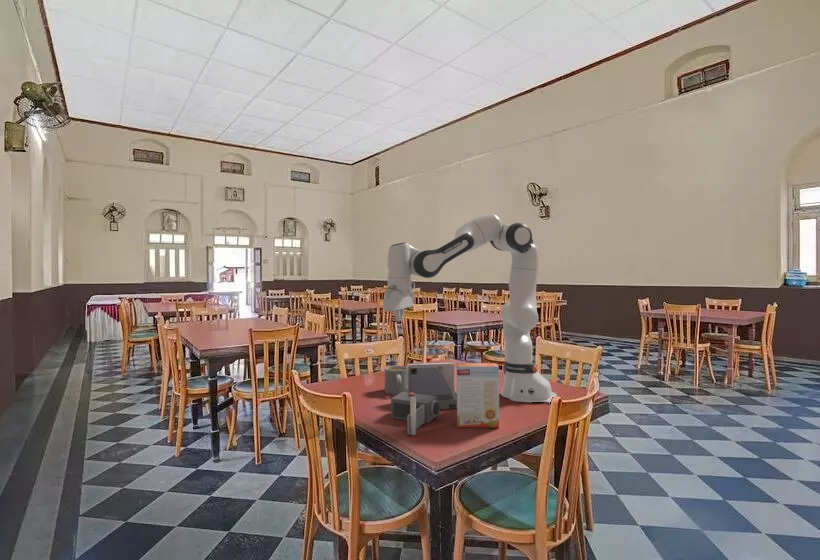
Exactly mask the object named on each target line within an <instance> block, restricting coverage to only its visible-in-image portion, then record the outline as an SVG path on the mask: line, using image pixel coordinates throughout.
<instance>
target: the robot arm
mask: <svg viewBox="0 0 820 560" xmlns="http://www.w3.org/2000/svg"><path fill="white" fill-rule="evenodd" d="M488 243H490V244H491V246H492V247H493V248H494V249H496V250H498V251H502V252H503V251H505V252H510V254H511V264H510V266H511V267H510V272H509V280H508V281H509V282H508V290H509V302H507V303H505V304H504V305H503V306H502V309H501V311H500V312H501V319H502V329H503V336H504V362H503V375H504V377H503V384H502V388H501V392H500V395H501V396H502V397H504V398H507V399H509V400H510V401H512V402H518V403H519V402H520V403H532V402H548V403H549V404H550V402H551V399H552V397H555V396H557V397H558V394H557V393H556V392H553V391H552V386H551V382H550V381H549V380H548V379H547V378H546V377H544V376H543V375H542V374H541V373H540V372H538V363H535V362H534V361H533V341H532V339H531V338H532V337H531V332H530V331H531V330H533V329H534V328H536V326H537V325H538V323H539V314H538V309H537V308H538V306H537V305H538V303H537V283H538V276H539V275H538V274H539V267H540V266H539V263H540V256H539V255H540V253H539V249H538V246H536V245H535V244H534V240H533V234H532V230H531V229H530V227H529V226H528V225H526V224H524V223H521V222H515V223H514V222H513V223H512V222H511V223H510V222H509V223H505V224H504V223H502V220H501V219H500V217H498V215H496V214H494V213H486V214H483V215H481V216H478V217H475V218H473V219H471V220H470V221H468V222H466V223H464V224H463V225H462V226H460V227H459V228H458V229H457V230H456V232H455V235H454V238H453V239H452V240H450V241H448V242H446V243H444V244H443V245H442V246H440V247H438V248H436V249H427V250H421V249H418V248H416V247H413V246H412V245H411V244H409V243H408V242H406V241H405V242H400V243H395V244H392V245H391V246H390V247H389V249H388V252H387V269H388V274H387V288H386V290H385V292H384V296H383V309H384V311H385V312H393V313H394V316H395V322H401V321H403V320H404V313H405V309H409V308H413V306H414V302H415V288H416V284H415V282H413V281H412V280H411V276H412V275H415V276H418V277H423V278H427V279H429V278H430V279H431V278H433V277H435V276H437V275H438V274H439V273H440V271H441V270H442V269H443V267H444V266H445V265H446V264H447V263H449V262H450V261H453V260H454V259H456V258H457V257H459V256H461V255H463V254H464V253H467V252H472V251H474V250H476V249H479V248H481V247H483V246H484V245H486V244H488ZM548 403H547V404H548ZM549 404H548V405H549Z"/></svg>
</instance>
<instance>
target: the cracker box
mask: <svg viewBox="0 0 820 560" xmlns="http://www.w3.org/2000/svg"><path fill="white" fill-rule="evenodd" d="M499 370H500V366H499V365H498V364H497V363H495V362H492V363H490V362H475V363H474V362H457V363H456V394H457V408H456V423H457V424H456V425H457V428H484V429H485V428H486V429H487V428H488V429H489V428H491V429H494V428H495V429H499V428H500V376H499V375H500V371H499Z"/></svg>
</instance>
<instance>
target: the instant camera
mask: <svg viewBox="0 0 820 560" xmlns="http://www.w3.org/2000/svg"><path fill="white" fill-rule="evenodd" d="M406 367H407V386H406V393H409V392H413V393H414V394H423V395H431V396H437V402H439V403H440V410H443V409H446V410H447V409H457V391H455V364H454V363H453V362H422V363H408V364H407V366H406Z"/></svg>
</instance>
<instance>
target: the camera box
mask: <svg viewBox="0 0 820 560" xmlns="http://www.w3.org/2000/svg"><path fill="white" fill-rule="evenodd" d="M411 397H416V409H417V408H419V407H420V406H421V405H424V424H429V423H431V422H432V420H434V419H435V418H436V417H437V416H438V415H440V412H441V409H440V403H439V402H437V396H431V395H423V394H414V393H413V392H409V393H406V392H401V393H399V394H397V395H394V396H393V397H391V398H390V403H391V404H390V418H391V419H394V418H396V419H395V420H401V419H402V421H407V415H409V414H410V398H411Z"/></svg>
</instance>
